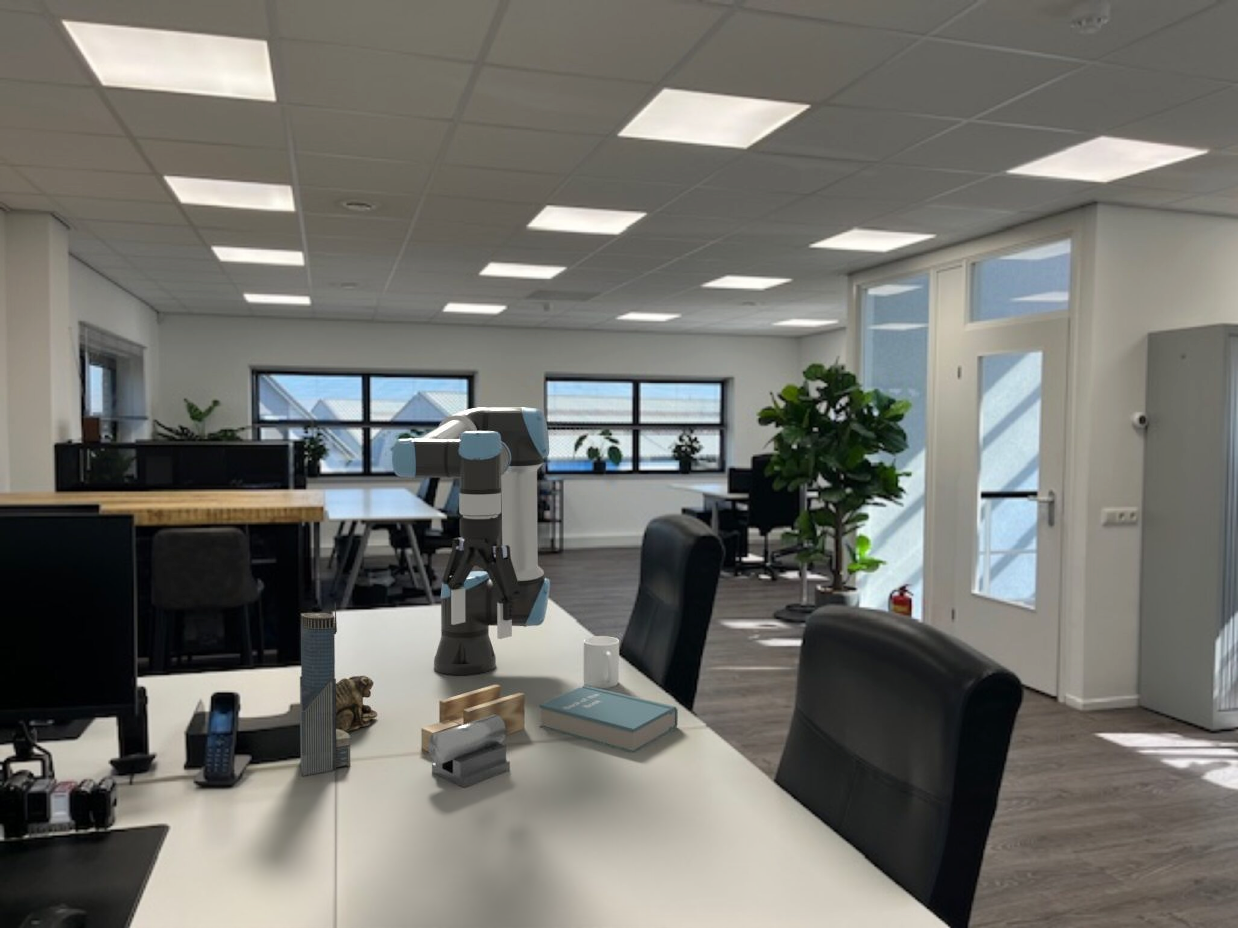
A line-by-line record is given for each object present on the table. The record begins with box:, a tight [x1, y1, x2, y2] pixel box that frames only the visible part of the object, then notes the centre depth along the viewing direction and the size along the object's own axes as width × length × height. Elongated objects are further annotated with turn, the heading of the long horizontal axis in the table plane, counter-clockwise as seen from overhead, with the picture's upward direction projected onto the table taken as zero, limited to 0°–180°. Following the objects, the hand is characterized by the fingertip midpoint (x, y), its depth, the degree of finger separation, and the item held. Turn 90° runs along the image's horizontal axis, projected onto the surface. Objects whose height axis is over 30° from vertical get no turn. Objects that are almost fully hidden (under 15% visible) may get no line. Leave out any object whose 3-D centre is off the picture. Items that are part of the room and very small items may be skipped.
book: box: [539, 684, 679, 753], centre depth 169 cm, size 23×16×5 cm
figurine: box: [336, 675, 379, 732], centre depth 167 cm, size 6×14×10 cm, turn 137°
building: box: [299, 603, 351, 777], centre depth 148 cm, size 10×9×30 cm
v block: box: [431, 743, 511, 788], centre depth 147 cm, size 10×9×4 cm
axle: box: [428, 715, 507, 764], centre depth 147 cm, size 13×5×5 cm, turn 138°
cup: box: [582, 635, 620, 689], centre depth 196 cm, size 8×12×10 cm
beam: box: [420, 684, 526, 752], centre depth 164 cm, size 20×9×7 cm, turn 138°
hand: (480, 630), depth 155 cm, fingers open, 13 cm apart
